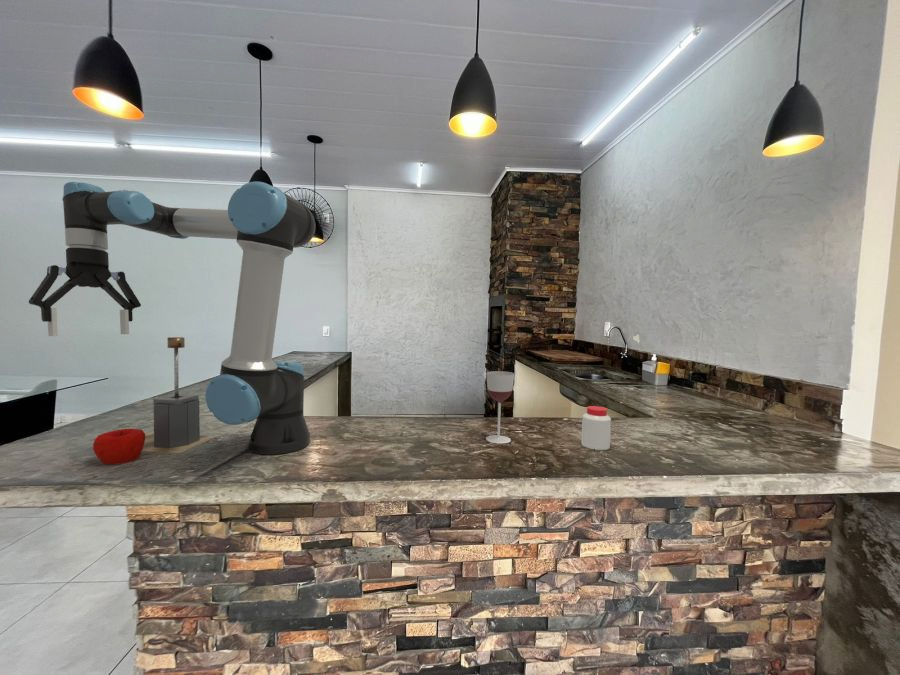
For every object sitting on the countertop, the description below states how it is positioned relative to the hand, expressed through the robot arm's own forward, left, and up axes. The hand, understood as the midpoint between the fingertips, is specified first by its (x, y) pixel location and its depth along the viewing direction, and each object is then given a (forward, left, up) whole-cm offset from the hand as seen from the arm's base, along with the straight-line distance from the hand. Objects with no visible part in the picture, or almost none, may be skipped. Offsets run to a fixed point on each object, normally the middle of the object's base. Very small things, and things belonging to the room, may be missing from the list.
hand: (91, 335), depth 92 cm
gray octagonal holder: (-17, -8, -28) cm, 34 cm away
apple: (-15, +7, -30) cm, 34 cm away
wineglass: (-103, -26, -30) cm, 110 cm away
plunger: (-17, -6, -20) cm, 27 cm away
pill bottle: (-131, -25, -30) cm, 137 cm away
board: (-13, -5, -29) cm, 33 cm away
